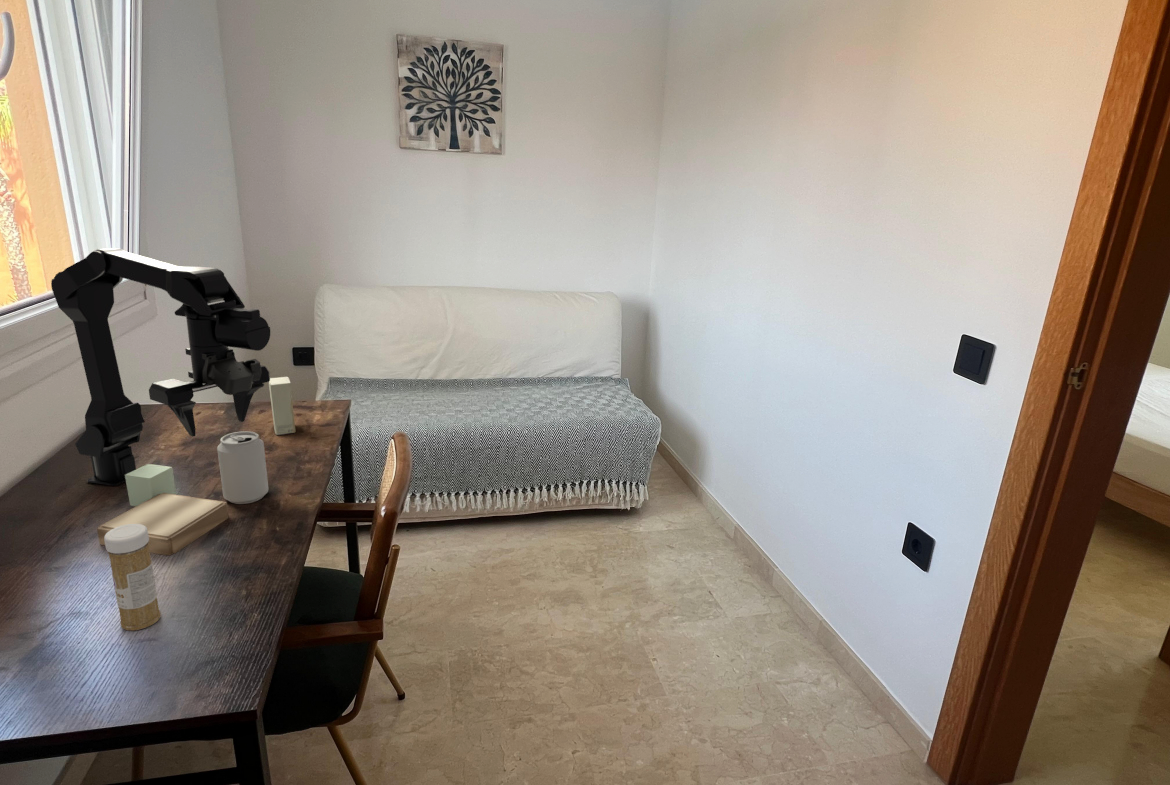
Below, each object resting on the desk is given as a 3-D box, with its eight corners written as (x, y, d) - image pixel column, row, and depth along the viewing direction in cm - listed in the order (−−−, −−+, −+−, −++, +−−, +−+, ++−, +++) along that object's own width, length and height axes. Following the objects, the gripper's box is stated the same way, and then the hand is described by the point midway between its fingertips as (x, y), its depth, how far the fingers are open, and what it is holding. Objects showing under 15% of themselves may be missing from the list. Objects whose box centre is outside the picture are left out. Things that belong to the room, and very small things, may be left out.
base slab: (98, 544, 105) (95, 527, 104) (164, 506, 117) (161, 491, 116) (171, 555, 102) (168, 538, 101) (230, 516, 115) (228, 501, 114)
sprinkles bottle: (115, 621, 87) (98, 530, 83) (154, 606, 90) (139, 518, 86) (127, 637, 84) (110, 544, 80) (167, 621, 88) (152, 531, 84)
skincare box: (296, 433, 153) (291, 383, 149) (275, 435, 151) (270, 385, 147) (293, 424, 158) (288, 375, 155) (272, 426, 156) (267, 377, 153)
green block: (130, 505, 117) (124, 474, 115) (153, 493, 122) (148, 463, 120) (154, 509, 116) (149, 478, 114) (176, 497, 121) (172, 467, 119)
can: (250, 508, 118) (243, 446, 114) (214, 503, 119) (205, 441, 116) (277, 490, 125) (271, 431, 121) (242, 485, 126) (235, 427, 123)
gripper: (183, 362, 101) (194, 456, 106) (287, 341, 117) (293, 424, 122) (141, 349, 106) (153, 440, 111) (246, 331, 122) (253, 411, 127)
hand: (217, 428), depth 117 cm, fingers open, 9 cm apart
